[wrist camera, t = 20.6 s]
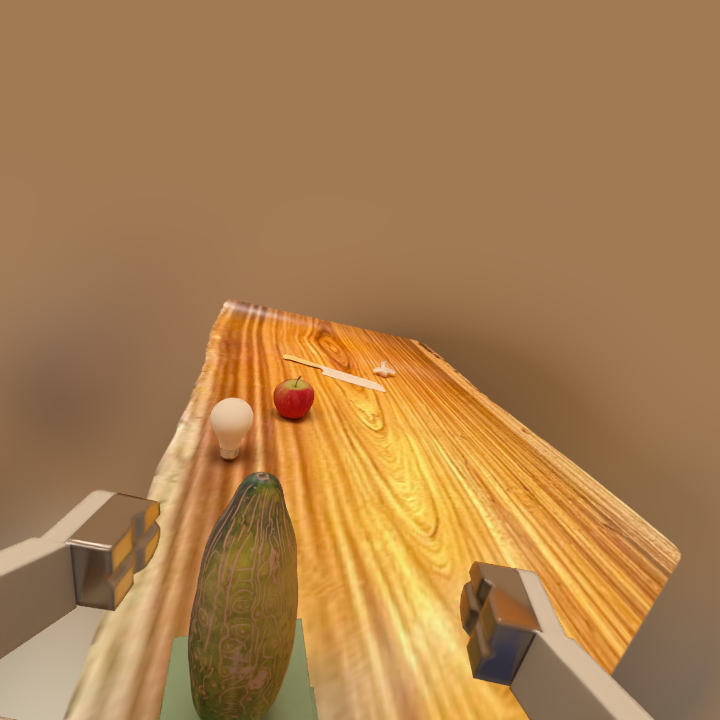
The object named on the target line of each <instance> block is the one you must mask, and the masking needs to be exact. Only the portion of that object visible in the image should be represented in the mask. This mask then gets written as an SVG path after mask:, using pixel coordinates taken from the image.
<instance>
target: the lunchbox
mask: <svg viewBox="0 0 720 720" xmlns="http://www.w3.org/2000/svg"><path fill="white" fill-rule="evenodd" d="M159 720H201V719H200V718H199V716H198V714H197V713H196V710H195V708H194V705H193V701H192V695H191V683H190V674H189V661H188V636H182V637H176V638H174V639H173V643H172V649H171V655H170V661H169V666H168V672H167V678H166V684H165V689H164V695H163V701H162V707H161V712H160V718H159ZM260 720H318V716H317V709H316V702H315V694H314V688H313V687H310V682H309V674H308V666H307V658H306V651H305V643H304V635H303V627H302V620H301V619H296V630H295V638H294V644H293V650H292V654H291V658H290V662H289V665H288V669H287V672H286V675H285V678H284V681H283V683H282V686H281V688H280V691H279V693H278V695H277V697H276V699H275V701H274V703H273V705H272V706H271V707H270V709H269V710H268V711H267V712H266V713H265V715H264V716H263V717H262V718H261V719H260Z"/></svg>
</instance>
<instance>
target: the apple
mask: <svg viewBox="0 0 720 720" xmlns="http://www.w3.org/2000/svg"><path fill="white" fill-rule="evenodd" d="M300 378H301V376H300V377H299V378H298V379H289V380H286V381H284V382H282V383H280V384H279V385H278V386H277V387H276V389H275V391H274V403H275V406H276V408H277V410H278V412H279V413H280V414H281V415H282V416H284V417H287V418H292V419H295V418H299V417H302V416H303V415H305V414H306V413H307V412H308V411H309V409H310V408H311V406H312V404H313V400H314V390H313V388H312V386H311V385H310V384H308V383H307V382H305V381H303V380H299V379H300Z"/></svg>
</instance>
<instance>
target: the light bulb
mask: <svg viewBox="0 0 720 720" xmlns="http://www.w3.org/2000/svg"><path fill="white" fill-rule="evenodd" d="M252 423H253V412H252V409H251V407H250V406H249V405H248V404H247V403H246V402H245V401H243V400H242V399H238V398H227V399H224V400H222V401H220V402H219V403H218V404H217V405H215V407H214V408H213V410H212V412H211V416H210V424H211V427H212V429H213V431H214V432H215V433H216V435H217V436H218V438H219V444H220V447H221V448H220V455H221V457H222V458H224V459H228V460H230V459H234V458H236V457H237V456H238V453H239V447H240V445H241V441H242V438H243V437H244V436H245V434H246V433H247V432H248V431H249V429H250V428H251V426H252Z"/></svg>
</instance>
